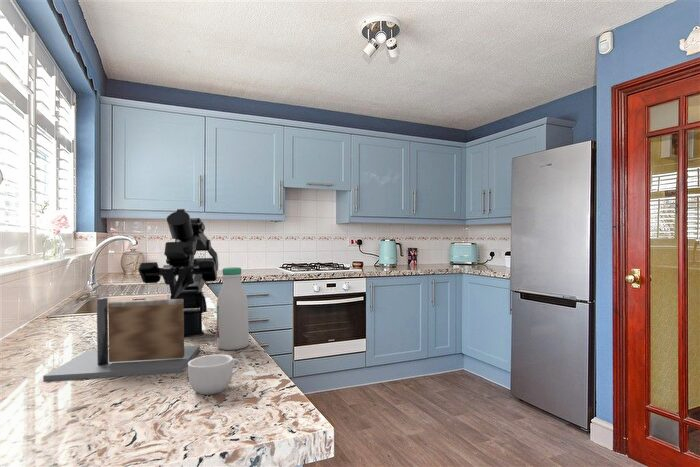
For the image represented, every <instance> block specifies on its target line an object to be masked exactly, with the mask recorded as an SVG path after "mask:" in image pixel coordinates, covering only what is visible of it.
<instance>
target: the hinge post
mask: <svg viewBox="0 0 700 467" xmlns="http://www.w3.org/2000/svg"><path fill="white" fill-rule="evenodd" d="M108 303H109V302H108V297H99V298H97V299H96V337H97V338H96V340H97V341H96V344H97V346H96V347H97V350H96V351H97V359H98V365H106V364H108V350H109V326H108Z"/></svg>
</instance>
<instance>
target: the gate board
mask: <svg viewBox="0 0 700 467" xmlns="http://www.w3.org/2000/svg"><path fill="white" fill-rule="evenodd" d="M200 350H201V345H199V344H195V345H194V344H193V345H184V357H183V358H174V359H156V360H139V361H121V362H109V349H108V364H106V365H98V359H97V350H86V351H84V352H83V353H81V354H79V355H78V356H76V357H74V358H71V360H70V359H69V361H67V362H66V363H64V364H62V365H59V366H58V367H57V368H55V369H53V370H51V371H49V372H47V373H45V374H44V375H42V376H43V377H42V378H43V379H42V380H43V382H45V381H46V382H47V381H50V382H51V381H61V380H63V381H64V380H66V381H67V380H80V379H95V378H97V379H98V378H111V377H112V378H113V377H114V378H115V377H129V376H143V375H145V376H146V375H160V374H162V375H163V374H177V373H182V372H183V371H184V370H185V369H186V367H188V362H189V361H191V360H192V359H194V357H195V356H196V355H197V353H198V352H199V351H200Z"/></svg>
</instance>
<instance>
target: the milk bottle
mask: <svg viewBox="0 0 700 467" xmlns="http://www.w3.org/2000/svg"><path fill="white" fill-rule="evenodd" d="M221 272H222V278H223V282H222V285H221V288H220V290H219V292H218V295H217V299H216V345H217V348H218V349H220V350H224V351H234V350H240V349H244V348H246V347H248V346H249V342H250V341H249V338H250V335H249V333H250V332H249V331H250V330H249V327H250V326H249V301H248V296H247V292H246V290H245V288H244V286H243V284H242V279H241V276H242V268H241V267H233V266H232V267H224V268H222V271H221Z"/></svg>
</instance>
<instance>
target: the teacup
mask: <svg viewBox="0 0 700 467" xmlns="http://www.w3.org/2000/svg"><path fill="white" fill-rule="evenodd" d="M235 362H236V363H237V366H236V369H234V370H233V367H234V363H235ZM240 368H241V362H240V360H239V359H237V358H233V356H232V355H228V354H222V353H221V354H208V355H202V356H198V357H195V358H193V359H192V360H191V361H189V362H188V365H187V370H188V371H187V372H188V382H189V384H190V386H191V388H192V389H193V390H194V391H195V393H198V394H201V395H205V396H207V395H214V394H218V393H221V392H223V391H224V390H225V389H227V387H228V386H229V385H230V383H231V381H232V377H233V376H234V375H236V373H237V372H238V371H239V370H240Z"/></svg>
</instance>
